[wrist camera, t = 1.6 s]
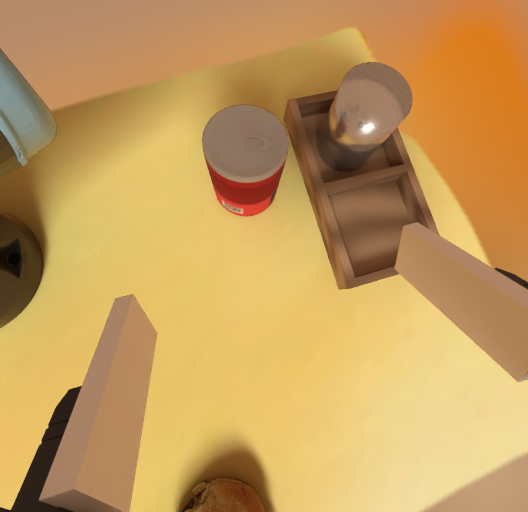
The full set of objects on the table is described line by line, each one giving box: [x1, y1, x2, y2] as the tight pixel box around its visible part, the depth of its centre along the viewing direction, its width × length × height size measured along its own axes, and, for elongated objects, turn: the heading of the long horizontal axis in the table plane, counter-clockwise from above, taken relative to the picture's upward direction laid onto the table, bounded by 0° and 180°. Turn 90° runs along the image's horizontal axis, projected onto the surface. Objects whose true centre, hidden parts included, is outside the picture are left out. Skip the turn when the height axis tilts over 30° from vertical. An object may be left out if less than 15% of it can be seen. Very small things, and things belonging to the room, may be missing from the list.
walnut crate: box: [284, 91, 440, 289], centre depth 33 cm, size 25×13×4 cm, turn 16°
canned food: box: [202, 105, 288, 216], centre depth 28 cm, size 8×8×11 cm
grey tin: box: [316, 62, 412, 172], centre depth 30 cm, size 8×8×9 cm
